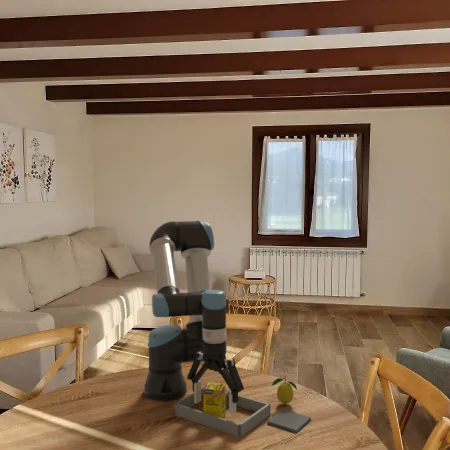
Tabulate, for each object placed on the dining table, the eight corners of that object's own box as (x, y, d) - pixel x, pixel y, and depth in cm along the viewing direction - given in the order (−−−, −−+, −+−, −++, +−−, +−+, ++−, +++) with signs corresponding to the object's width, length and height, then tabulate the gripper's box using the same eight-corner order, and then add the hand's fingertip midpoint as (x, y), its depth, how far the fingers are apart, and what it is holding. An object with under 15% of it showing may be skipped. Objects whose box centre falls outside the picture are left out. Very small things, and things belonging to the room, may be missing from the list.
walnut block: (210, 408, 164) (209, 393, 163) (216, 402, 168) (216, 388, 168) (223, 411, 162) (223, 396, 161) (230, 405, 166) (230, 390, 166)
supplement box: (222, 424, 152) (221, 390, 152) (203, 423, 154) (202, 388, 153) (225, 416, 158) (225, 382, 157) (207, 414, 159) (207, 381, 159)
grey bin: (173, 414, 159) (173, 403, 159) (206, 395, 174) (206, 385, 173) (240, 437, 145) (240, 425, 144) (270, 414, 159) (270, 403, 159)
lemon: (271, 405, 166) (271, 376, 165) (280, 399, 171) (280, 370, 170) (288, 410, 162) (289, 380, 161) (297, 404, 167) (297, 375, 166)
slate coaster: (267, 423, 153) (267, 421, 153) (282, 411, 161) (282, 409, 161) (296, 432, 147) (296, 430, 147) (310, 419, 155) (310, 417, 155)
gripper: (175, 337, 158) (176, 402, 159) (241, 350, 144) (241, 421, 145) (190, 331, 164) (191, 394, 165) (254, 344, 150) (255, 412, 151)
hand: (214, 407), depth 155 cm, fingers open, 13 cm apart
